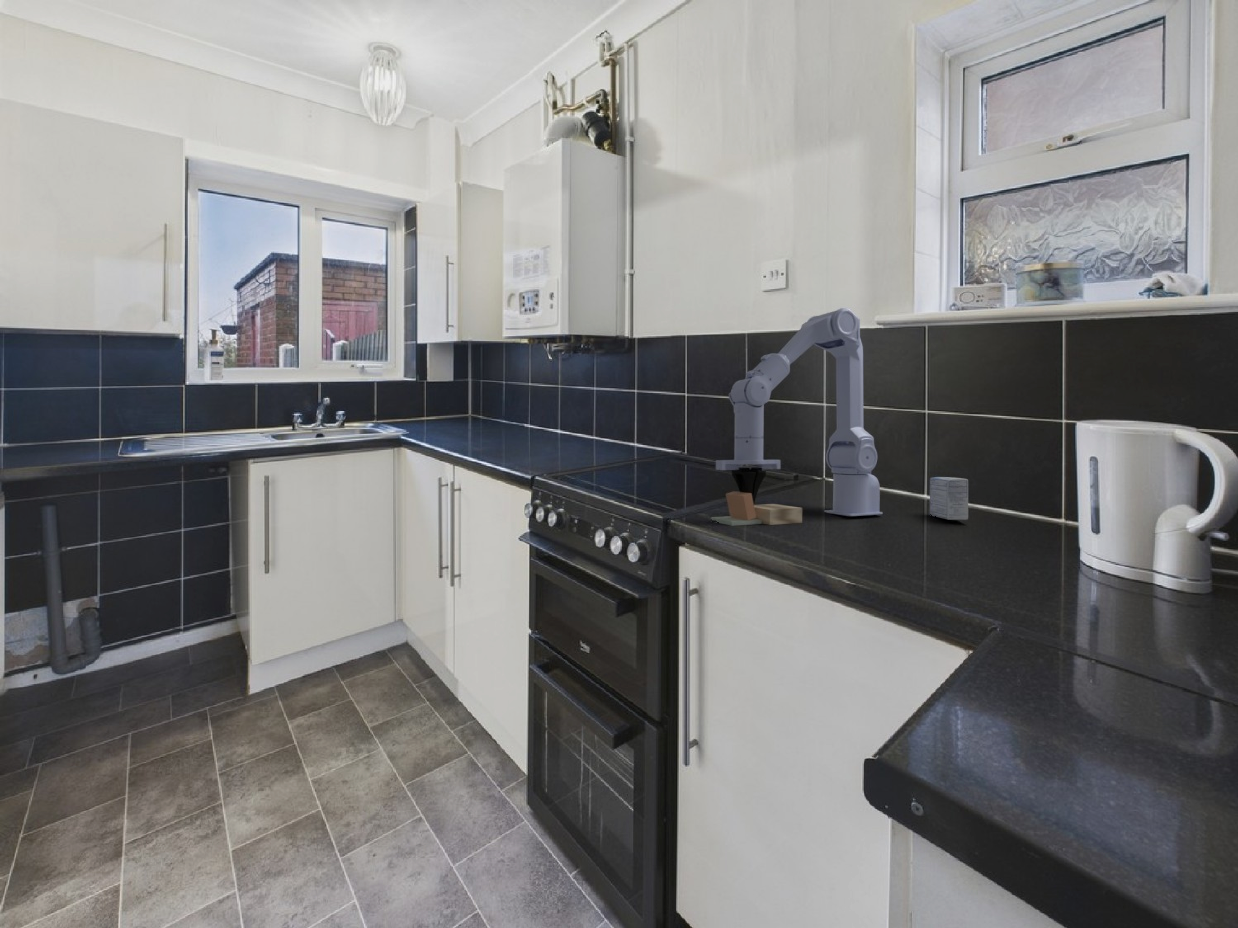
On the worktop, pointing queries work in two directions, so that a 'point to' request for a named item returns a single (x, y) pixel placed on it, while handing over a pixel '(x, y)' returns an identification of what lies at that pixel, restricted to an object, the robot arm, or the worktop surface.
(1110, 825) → the worktop surface
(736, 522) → the sage mat
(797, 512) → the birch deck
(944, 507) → the medicine box
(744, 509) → the terracotta block
